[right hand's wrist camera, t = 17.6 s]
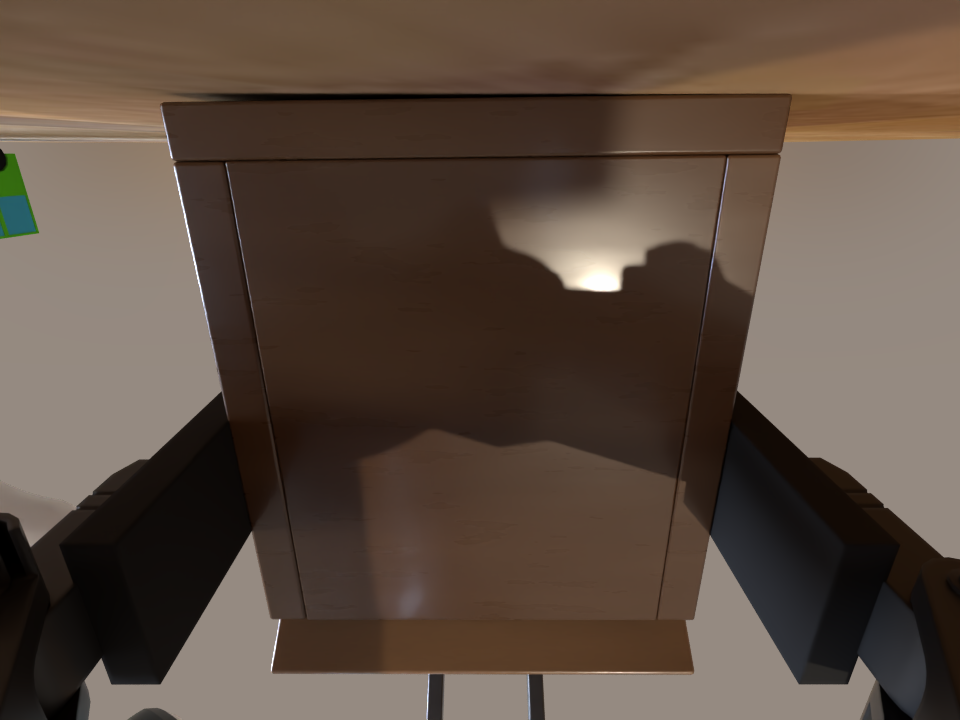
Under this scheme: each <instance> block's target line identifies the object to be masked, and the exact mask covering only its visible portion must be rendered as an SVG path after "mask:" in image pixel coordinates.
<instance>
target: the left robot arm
mask: <svg viewBox="0 0 960 720" xmlns="http://www.w3.org/2000/svg"><path fill="white" fill-rule="evenodd" d="M72 510H76V507H75V506H73V505H72V504H70V503H68V502H66V501H64V500H59V499H54V498H48V497H44V496H40V495H36V494H33V493H30V492H27V491H24V490H21V489H18V488H16V487H14V486H11V485H9V484H7V483H5V482H3V481H1V480H0V513H10V514H12V515H14V516H15V517H17V518H19V520H20V523H21V525H22V528H23V530H24V533H25V535H26V538H27V540H28V543H29V545H30V547H31V546H32V545H34V544H35V543H36V542H37V541H38V540H39V539H40V538H41V537H43V536H44V535H45V534H46V533H47V532H48V531H49V530H50V529H52V528H53V527H54V526H55V525H56V524H57V523H58V522H59V521H61V520H62V519H63V518H64V517H65V516H66V515H67V514H68V513H70V512H71V511H72ZM128 720H183V719H181V718H180V717H178V716H176V715H174V714H172V713H169V712H166V711H164V710H162V709H159V708H149V709H143V710H141V711H140V712H138V713H136V714H135V715H133V716H132V717H130V718H129V719H128Z"/></svg>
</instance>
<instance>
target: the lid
mask: <svg viewBox="0 0 960 720" xmlns="http://www.w3.org/2000/svg"><path fill="white" fill-rule="evenodd" d="M271 673H273V674H429V675H428V698H427V720H443V704H444V674H527V692H528V718H529V720H545V712H544V692H543V674H606V675H607V674H608V675H609V674H610V675H613V674H614V675H691V674H693V673H694V667H693V661H692V655H691V649H690V644H689V638H688V632H687V627H686V621H685V620H658V619H657V618H656V620H308V619H307V617H306V618H305V619H279V625H278V630H277V636H276V642H275V648H274V653H273V659H272V665H271Z"/></svg>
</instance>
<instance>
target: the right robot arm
mask: <svg viewBox="0 0 960 720" xmlns="http://www.w3.org/2000/svg"><path fill="white" fill-rule="evenodd" d="M251 531H252V530H251V525H250V521H249V516H248V511H247V507H246V502H245V497H244V493H243V488H242V483H241V478H240V473H239V468H238V464H237V459H236V454H235V449H234V444H233V439H232V434H231V429H230V424H229V421H228V418H227V414H226V409H225V404H224V400H223V395H222V391H221V392H220V393H219V394H218V395H217V396H216V397H215V398H214V399H213V400H212V401H211V402H210V403H209V404H208V405H207V406H206V407H205V408H203V409H202V410H201V411H200V412H199V413H198V414H197V415H196V416H195V417H194V418H193V419H192V420H191V421H190V422H189V423H188V424H187V425H185V426H184V427H183V428H182V429H181V430H180V431H179V432H178V433H177V434H176V435H175V436H174V437H173V438H172V439H170V440H169V441H168V442H167V443H166V444H165V445H164V446H163V447H162V448H161V449H160V450H159V451H158V452H157V453H156V454H155V455H154V456H152V457H151V458H150V459H149V460H138V461H136V462H134V463H132V464H130V465H129V466H127V467H125V468H123V469H121V470H120V471H118V472H116V473H114V474H113V475H111V476H110V477H109V478H108V479H107V480H106V481H104V482H103V483H102V484H101V485H100V486H99V487H98V488H97V489H95V490H94V491H93V495H89V496H88V497H86V498H85V499H84V500H83V501H82V502H81V503H80V504H79V505H77V508H76V510H72V511H71V512H70V513H68V514H67V515H66V516H65V517H64V518H63V519H62V520H61V521H59V522H58V523H57V524H56V525H55V526H54V527H53V528H52V529H50V530H49V531H48V532H47V533H46V534H45V535H44V536H43V537H41V538H40V539H39V540H38V541H37V542H36V543H35V544H34V545H32V546H31V547H30V545H29V543H28V540H27V538H26V535H25V533H24V530H23V528H22V525H21V523H20V520H19V518H17V517H15V516H14V515H12V514H10V513H0V720H88V716H89V708H90V697H89V692H88V689H87V686H86V684H85V681H84V680H85V679H86V678H87V676H88V675H89V674H90V672H91V671H92V670H93V668H94V667H95V666H96V664H97V663H98V661H99V660H100V659H101V658H102V661H103V663H104V666H105V669H106V671H107V674H108V676H109V679H110V682H111V684H161V682H162V681H163V679H164V677H165V676H166V674H167V672H168V671H169V669H170V667H171V666H172V664H173V662H174V661H175V659H176V657H177V656H178V654H179V652H180V650H181V649H182V647H183V645H184V644H185V642H186V640H187V639H188V637H189V635H190V634H191V632H192V630H193V629H194V627H195V625H196V624H197V622H198V620H199V619H200V617H201V615H202V613H203V612H204V610H205V609H206V607H207V605H208V603H209V602H210V600H211V598H212V597H213V595H214V593H215V592H216V590H217V588H218V587H219V585H220V583H221V582H222V580H223V578H224V577H225V575H226V573H227V572H228V570H229V568H230V566H231V565H232V563H233V562H234V560H235V558H236V556H237V555H238V553H239V551H240V550H241V548H242V546H243V545H244V543H245V541H246V540H247V538H248V536H249V535H250V533H251ZM710 535H711V537H712V539H713V541H714V542H715V544H716V546H717V547H718V549H719V551H720V552H721V554H722V556H723V557H724V559H725V561H726V562H727V564H728V566H729V567H730V569H731V571H732V572H733V574H734V576H735V577H736V579H737V581H738V583H739V584H740V586H741V587H742V589H743V591H744V593H745V594H746V596H747V598H748V599H749V601H750V603H751V604H752V606H753V608H754V609H755V611H756V613H757V614H758V616H759V618H760V619H761V621H762V623H763V624H764V626H765V628H766V630H767V631H768V633H769V635H770V636H771V638H772V640H773V641H774V643H775V645H776V646H777V648H778V650H779V651H780V653H781V655H782V656H783V658H784V660H785V661H786V663H787V665H788V666H789V668H790V670H791V672H792V673H793V675H794V677H795V678H796V680H797V682H798V683H799V684H848V682H849V680H850V677H851V674H852V672H853V669H854V667H855V664H856V661H857V658H858V656H859V657H860V658H861V659H862V661H863V662H864V663H865V665H866V666H867V667H868V669H869V670H870V671H871V673H872V674H873V675H874V677H875V678H876V681H875V684H874V686H873V689H872V691H871V693H870V696H869V698H868V701H867V703H866V706H865V708H864V711H863V713H862V716H861V718H860V720H960V559H955V558H949V557H947V558H944V557H943V556H941V555H940V554H939V553H938V552H937V551H936V550H935V549H934V548H932V547H931V546H930V545H929V544H928V543H927V542H926V541H925V540H923V539H922V538H921V537H920V536H919V535H918V534H917V533H915V532H914V531H913V530H912V529H911V528H910V527H909V526H908V525H906V524H905V523H904V522H903V521H902V520H901V519H900V518H898V517H897V516H896V515H895V514H894V513H893V512H892V511H891V510H889V509H888V508H884V506H883V503H881V502H880V501H879V500H878V499H877V498H876V497H875V496H874V495H872V494H871V493H867V489H866V488H864V487H863V486H862V485H861V484H860V483H859V482H858V481H857V480H855V479H854V478H853V477H852V476H851V475H850V474H849V473H847V472H846V471H844V470H842V469H840V468H838V467H836V466H835V465H833V464H831V463H829V462H827V461H825V460H824V459H822V458H808V457H807V456H806V455H805V454H804V453H803V452H802V451H801V450H800V449H798V448H797V447H796V446H795V445H794V444H793V443H792V442H791V441H790V440H789V439H788V438H787V437H786V436H785V435H784V434H783V433H782V432H780V431H779V430H778V429H777V428H776V427H775V426H774V425H773V424H772V423H771V422H770V421H769V420H768V419H767V418H766V417H764V416H763V415H762V414H761V413H760V412H759V411H758V410H757V409H756V408H755V407H754V406H753V405H752V404H751V403H750V402H749V401H748V400H746V399H745V398H744V397H743V396H742V395H741V394H740V393H739V392H738V391H737V393H736V398H735V403H734V409H733V414H732V419H731V425H730V430H729V435H728V441H727V446H726V451H725V457H724V462H723V467H722V472H721V478H720V483H719V488H718V494H717V499H716V504H715V510H714V515H713V520H712V526H711V531H710Z"/></svg>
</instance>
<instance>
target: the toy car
mask: <svg viewBox="0 0 960 720" xmlns="http://www.w3.org/2000/svg"><path fill="white" fill-rule="evenodd" d="M36 233H39V231H38V228H37V225H36V221H35V218H34V215H33V212H32V208H31V205H30V202H29V199H28V195H27V192H26V189H25V186H24V182H23V179H22V176H21V173H20V169H19V166H18V163H17V160H16V156H15V154H4V153H3V152H2V150H1V149H0V239H2V238H9V237H16V236H23V235H29V234H36Z"/></svg>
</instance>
